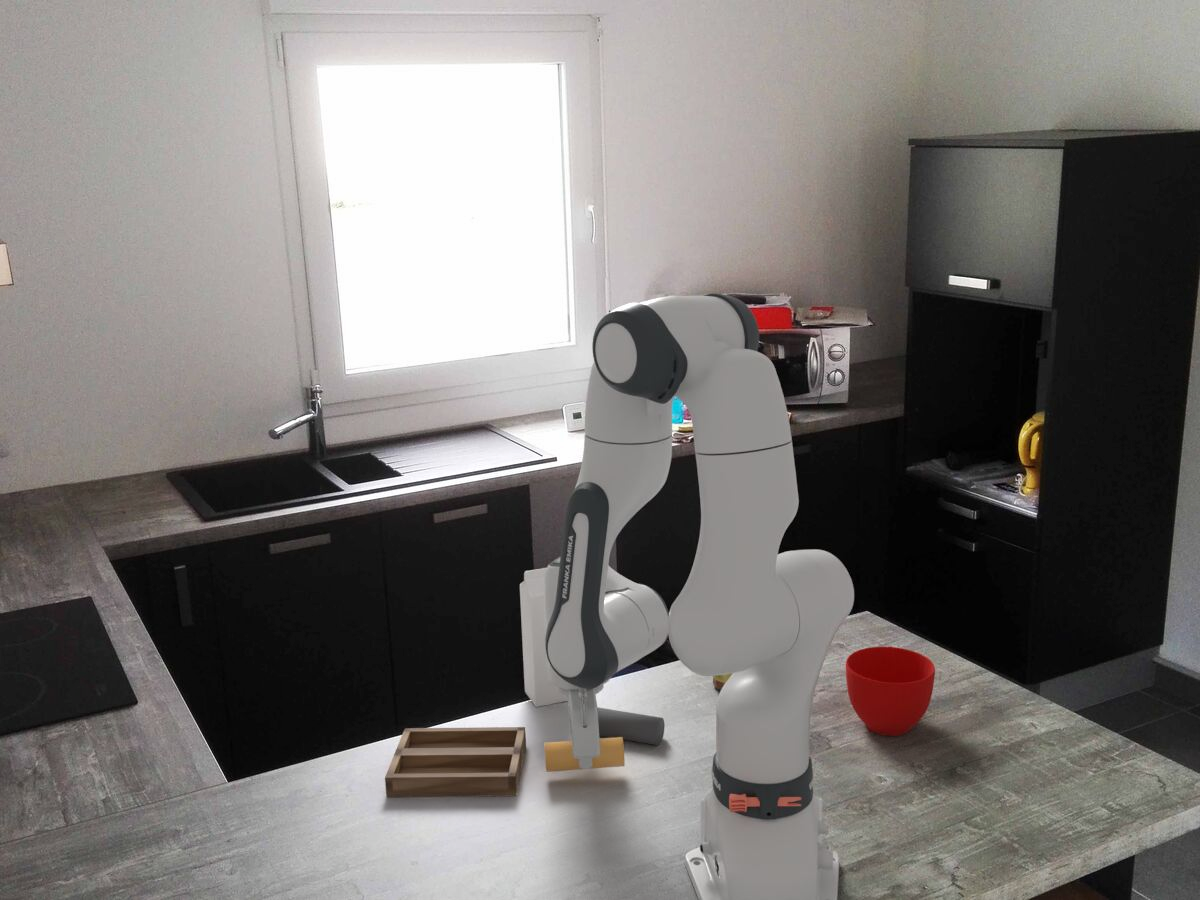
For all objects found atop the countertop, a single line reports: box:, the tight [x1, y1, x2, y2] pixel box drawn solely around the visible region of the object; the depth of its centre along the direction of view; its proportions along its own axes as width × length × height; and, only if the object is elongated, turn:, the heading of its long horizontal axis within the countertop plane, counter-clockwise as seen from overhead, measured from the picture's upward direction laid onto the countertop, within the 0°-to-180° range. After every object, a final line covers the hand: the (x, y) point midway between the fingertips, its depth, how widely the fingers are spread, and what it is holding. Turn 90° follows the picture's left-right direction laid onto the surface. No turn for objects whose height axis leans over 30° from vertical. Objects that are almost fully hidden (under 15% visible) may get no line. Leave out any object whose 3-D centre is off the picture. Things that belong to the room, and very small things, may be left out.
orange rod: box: [543, 737, 626, 773], centre depth 164 cm, size 11×4×4 cm, turn 94°
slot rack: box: [384, 726, 527, 798], centre depth 167 cm, size 14×18×3 cm
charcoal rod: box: [597, 706, 666, 746], centre depth 175 cm, size 11×4×4 cm
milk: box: [519, 567, 568, 708], centre depth 186 cm, size 6×6×22 cm
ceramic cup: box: [845, 645, 936, 736], centre depth 177 cm, size 13×17×10 cm
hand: (584, 756), depth 164 cm, fingers closed on orange rod, 4 cm apart
